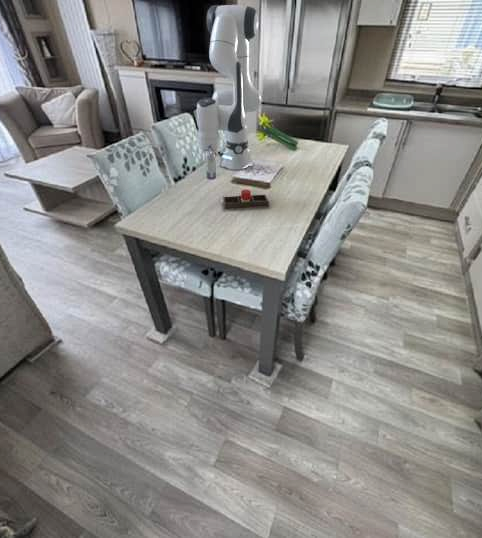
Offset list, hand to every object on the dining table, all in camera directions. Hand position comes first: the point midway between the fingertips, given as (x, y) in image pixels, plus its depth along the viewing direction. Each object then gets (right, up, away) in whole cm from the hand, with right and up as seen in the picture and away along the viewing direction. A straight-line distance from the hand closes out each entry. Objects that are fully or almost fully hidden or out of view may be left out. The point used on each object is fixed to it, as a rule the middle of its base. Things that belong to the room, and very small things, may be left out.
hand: (211, 174), depth 136 cm
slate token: (0, -1, +1) cm, 2 cm away
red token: (+16, -11, -3) cm, 20 cm away
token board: (+16, -14, 0) cm, 21 cm away
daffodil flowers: (+37, +43, +71) cm, 90 cm away
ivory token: (+16, -14, -1) cm, 21 cm away
